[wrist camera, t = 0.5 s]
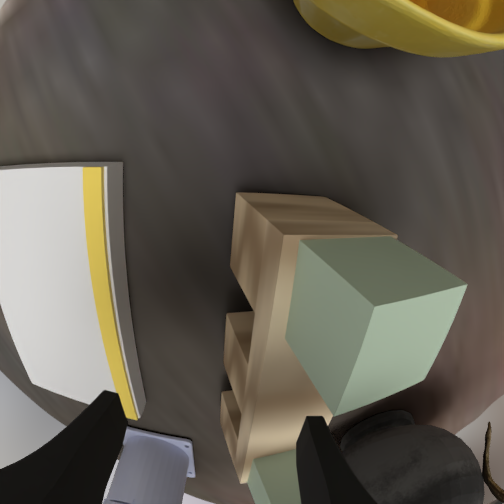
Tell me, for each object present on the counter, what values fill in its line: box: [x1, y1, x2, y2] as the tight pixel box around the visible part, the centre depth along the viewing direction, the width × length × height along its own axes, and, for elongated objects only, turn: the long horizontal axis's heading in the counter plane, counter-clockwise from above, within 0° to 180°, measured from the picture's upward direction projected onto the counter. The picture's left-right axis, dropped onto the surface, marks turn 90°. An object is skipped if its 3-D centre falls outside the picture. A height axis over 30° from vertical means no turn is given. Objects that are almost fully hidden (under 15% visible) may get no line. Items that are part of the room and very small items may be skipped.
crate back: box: [247, 449, 301, 504], centre depth 15 cm, size 4×4×4 cm
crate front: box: [285, 236, 467, 416], centre depth 9 cm, size 4×4×4 cm
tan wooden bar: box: [220, 192, 398, 484], centre depth 16 cm, size 18×5×6 cm, turn 174°
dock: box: [0, 162, 146, 420], centre depth 18 cm, size 20×12×2 cm, turn 174°
